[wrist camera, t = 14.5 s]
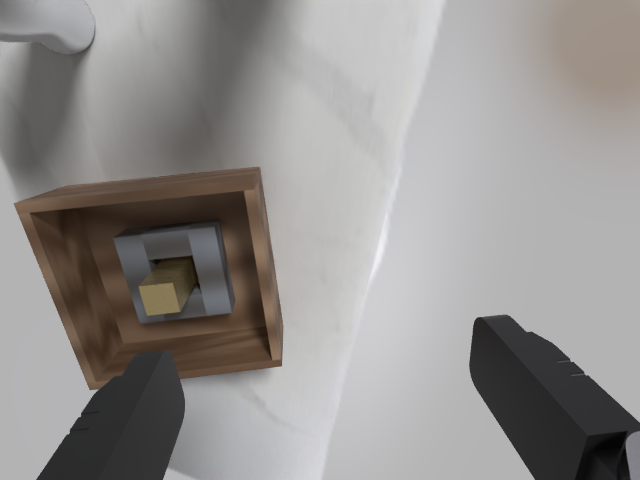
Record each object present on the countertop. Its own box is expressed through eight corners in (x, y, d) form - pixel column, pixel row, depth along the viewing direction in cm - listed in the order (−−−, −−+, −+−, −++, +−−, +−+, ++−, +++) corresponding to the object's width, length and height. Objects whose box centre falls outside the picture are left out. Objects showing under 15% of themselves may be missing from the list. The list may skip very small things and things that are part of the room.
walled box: (66, 186, 40) (13, 203, 32) (259, 166, 41) (252, 179, 33) (121, 346, 47) (89, 390, 40) (283, 326, 48) (281, 366, 41)
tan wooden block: (165, 255, 42) (138, 286, 35) (193, 252, 43) (172, 282, 35) (171, 280, 44) (147, 315, 36) (199, 277, 44) (180, 311, 36)
